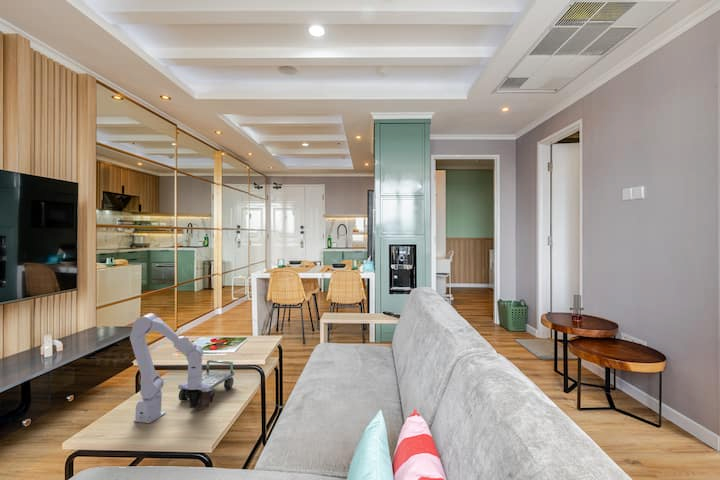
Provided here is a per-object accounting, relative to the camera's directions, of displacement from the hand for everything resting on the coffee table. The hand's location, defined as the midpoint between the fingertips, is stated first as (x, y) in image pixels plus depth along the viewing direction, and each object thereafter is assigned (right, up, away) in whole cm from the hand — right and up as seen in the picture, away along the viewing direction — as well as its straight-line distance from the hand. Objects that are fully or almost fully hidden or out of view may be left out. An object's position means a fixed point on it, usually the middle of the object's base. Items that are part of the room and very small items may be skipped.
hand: (193, 406), depth 152 cm
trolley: (-3, -4, +20) cm, 21 cm away
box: (+1, -3, +3) cm, 4 cm away
